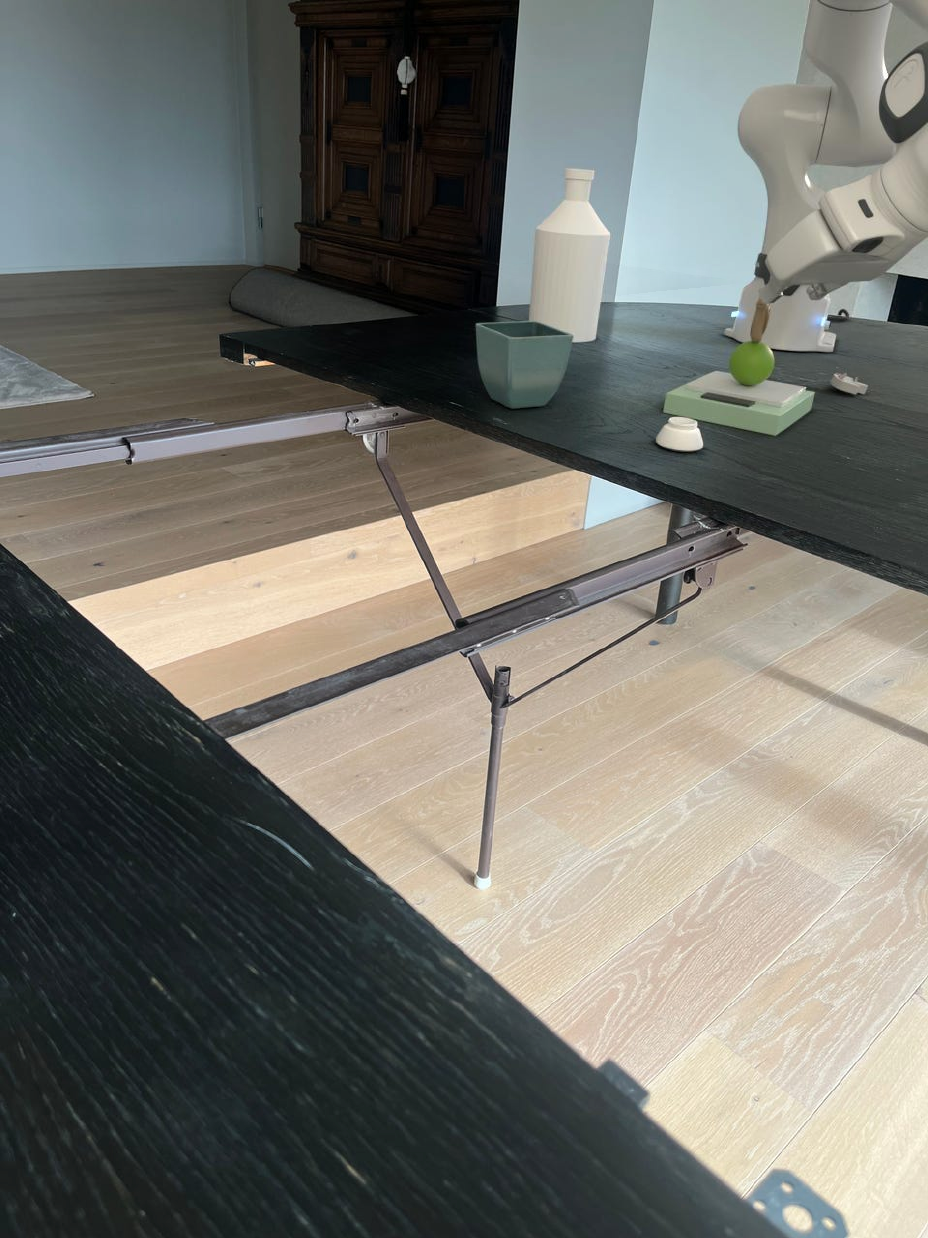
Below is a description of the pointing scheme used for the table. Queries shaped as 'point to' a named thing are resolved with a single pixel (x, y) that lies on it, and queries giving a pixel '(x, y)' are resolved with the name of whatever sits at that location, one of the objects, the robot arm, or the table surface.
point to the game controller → (847, 384)
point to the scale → (740, 403)
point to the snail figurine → (753, 352)
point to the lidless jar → (680, 435)
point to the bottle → (570, 262)
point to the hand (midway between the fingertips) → (788, 296)
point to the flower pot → (522, 361)
